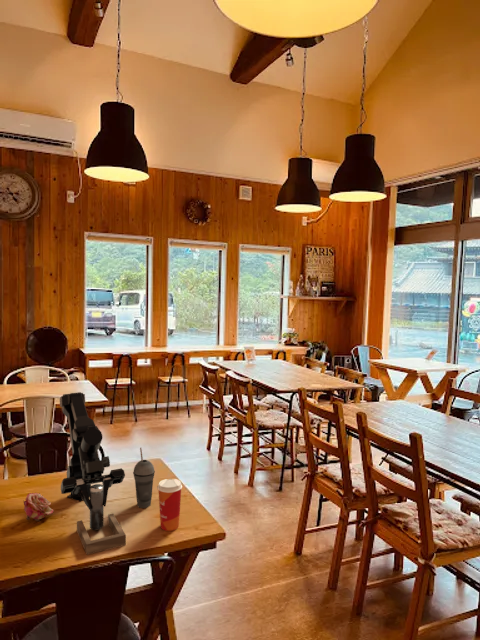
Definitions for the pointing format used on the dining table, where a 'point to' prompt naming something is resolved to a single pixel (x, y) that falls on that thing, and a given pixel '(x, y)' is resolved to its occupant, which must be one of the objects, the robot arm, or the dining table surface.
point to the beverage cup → (143, 482)
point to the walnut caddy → (105, 542)
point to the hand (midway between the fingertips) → (97, 507)
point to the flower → (36, 506)
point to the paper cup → (169, 503)
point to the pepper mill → (96, 507)
